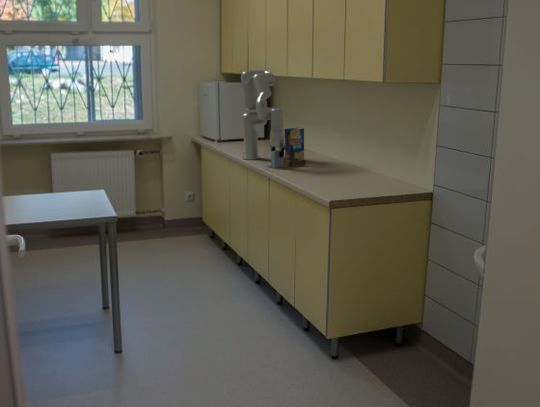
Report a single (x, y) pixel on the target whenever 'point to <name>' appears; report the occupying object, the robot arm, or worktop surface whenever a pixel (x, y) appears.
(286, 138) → the blue printed long box
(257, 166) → the worktop surface
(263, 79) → the robot arm
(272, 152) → the tall pale blue pillar
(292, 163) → the rack
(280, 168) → the mat
